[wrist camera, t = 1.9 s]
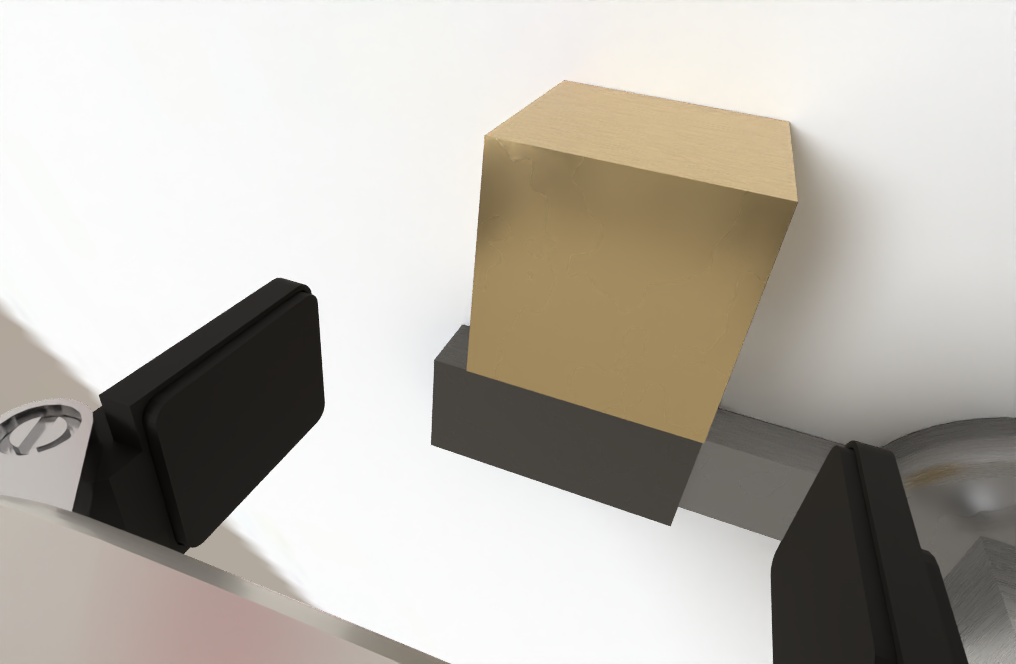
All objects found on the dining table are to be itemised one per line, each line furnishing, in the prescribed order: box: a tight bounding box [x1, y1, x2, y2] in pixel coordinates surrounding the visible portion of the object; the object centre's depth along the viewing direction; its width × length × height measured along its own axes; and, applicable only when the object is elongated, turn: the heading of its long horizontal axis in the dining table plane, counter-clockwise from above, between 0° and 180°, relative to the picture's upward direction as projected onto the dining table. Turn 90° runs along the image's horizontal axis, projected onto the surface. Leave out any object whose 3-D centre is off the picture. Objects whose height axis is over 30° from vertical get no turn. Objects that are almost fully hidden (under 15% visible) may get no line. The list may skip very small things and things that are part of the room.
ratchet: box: [431, 325, 1016, 664], centre depth 19 cm, size 9×23×6 cm, turn 84°
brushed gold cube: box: [467, 80, 798, 443], centre depth 16 cm, size 6×6×6 cm
